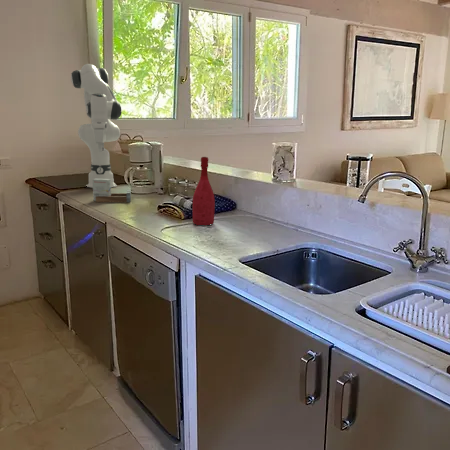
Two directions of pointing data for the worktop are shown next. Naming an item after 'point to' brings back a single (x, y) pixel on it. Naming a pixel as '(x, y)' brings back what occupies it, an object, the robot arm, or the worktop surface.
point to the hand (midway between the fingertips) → (101, 151)
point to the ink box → (101, 188)
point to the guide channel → (115, 197)
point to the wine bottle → (203, 198)
